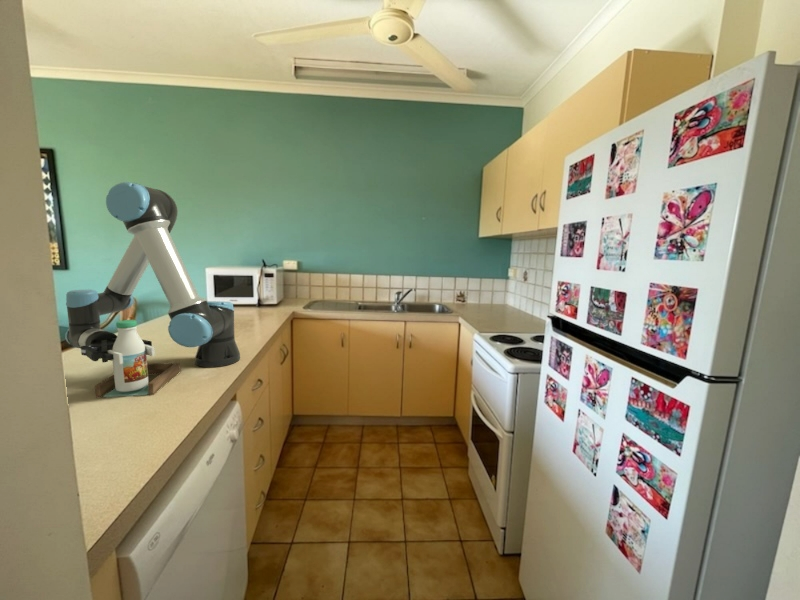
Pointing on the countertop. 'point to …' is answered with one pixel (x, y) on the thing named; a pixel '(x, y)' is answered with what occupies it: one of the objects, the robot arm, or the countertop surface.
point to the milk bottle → (130, 358)
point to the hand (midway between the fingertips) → (137, 355)
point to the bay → (164, 369)
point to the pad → (130, 393)
